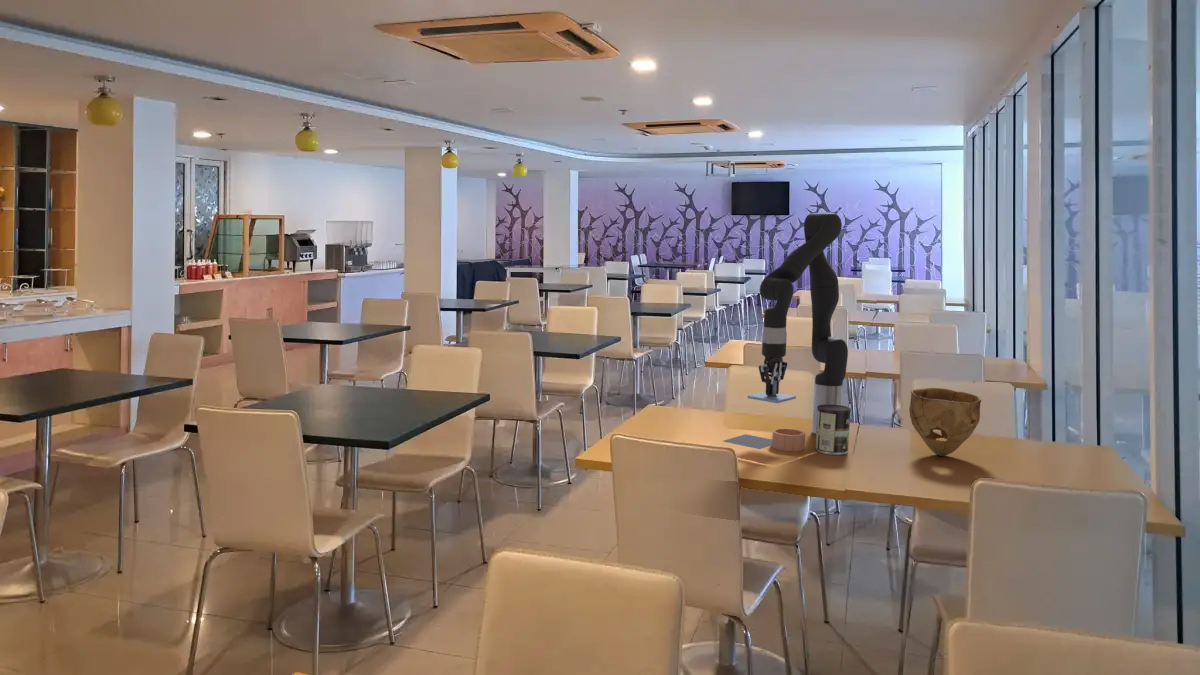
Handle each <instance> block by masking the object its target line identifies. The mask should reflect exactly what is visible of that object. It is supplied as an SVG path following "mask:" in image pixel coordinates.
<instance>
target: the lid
mask: <svg viewBox="0 0 1200 675" xmlns="http://www.w3.org/2000/svg"><path fill="white" fill-rule="evenodd" d="M776 391H777V380H773V395H772V396H769V395H766V390H765V391H762V392H757V393H754V394H750V395H747V399H750V400H756V401H762V402H765V403H766V402H768V403H773V404H780V403H783V402H788V401H792V400H796V399H797V396H796V395H791V394H786V393H785V394H784V393H780V392H779V393H778V394H776Z"/></svg>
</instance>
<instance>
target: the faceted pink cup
mask: <svg viewBox="0 0 1200 675" xmlns="http://www.w3.org/2000/svg"><path fill="white" fill-rule="evenodd" d="M771 437H772V445H771V447H772V448H773V449H776V450H779V451H786V452H787V451H788V452H798V451H804V449H805V448H806V447H805V446H806V444H805V443H806V431H803V430H802V429H795V428H788V427H787V428H785V427H782V428H774V429H772V436H771Z"/></svg>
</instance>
